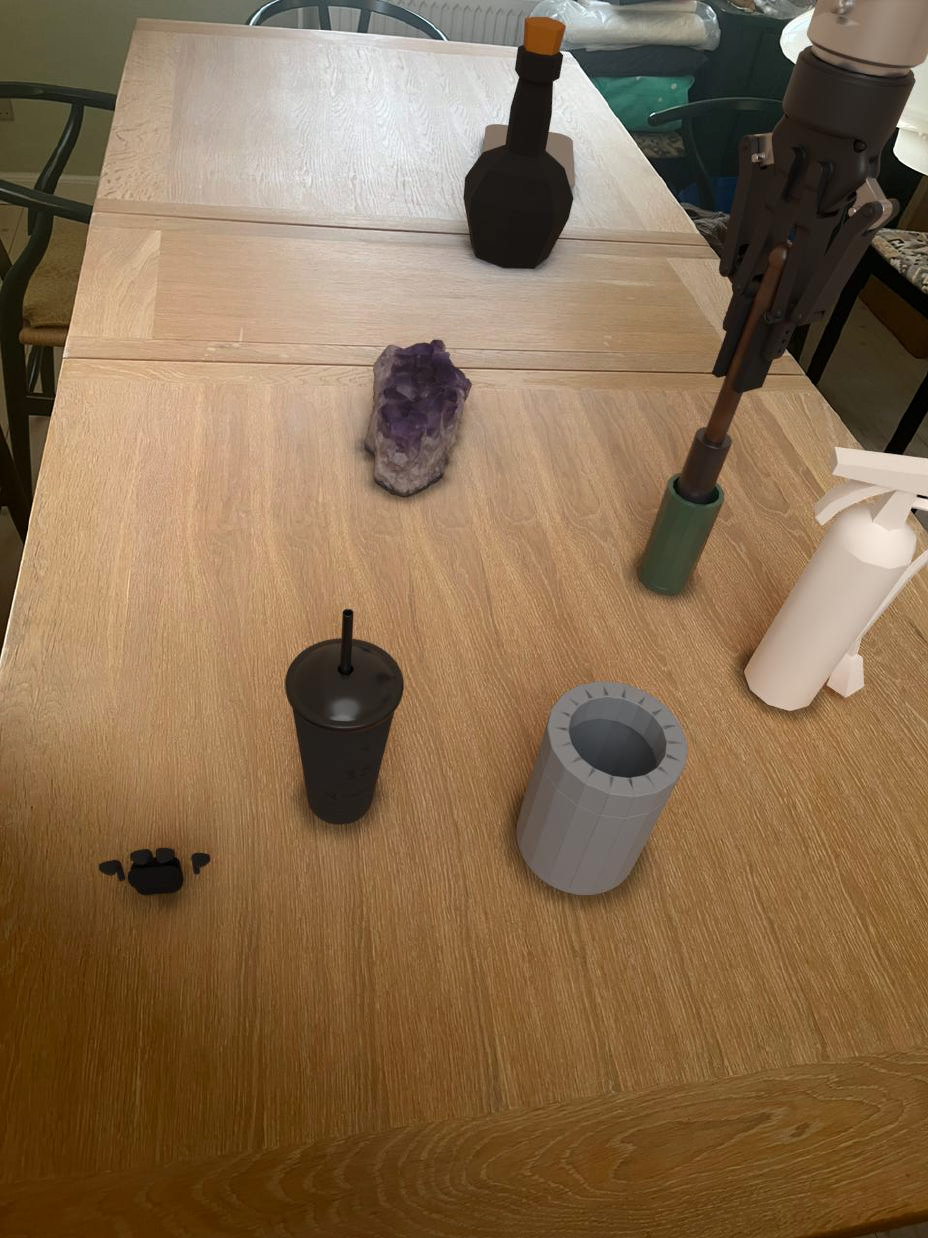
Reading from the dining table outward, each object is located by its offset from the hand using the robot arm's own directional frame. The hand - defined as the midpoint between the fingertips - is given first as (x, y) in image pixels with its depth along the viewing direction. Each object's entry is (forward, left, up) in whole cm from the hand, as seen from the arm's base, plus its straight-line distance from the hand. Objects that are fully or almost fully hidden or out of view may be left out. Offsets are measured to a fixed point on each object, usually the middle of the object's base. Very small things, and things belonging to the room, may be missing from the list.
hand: (736, 379), depth 75 cm
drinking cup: (+22, +34, -22) cm, 46 cm away
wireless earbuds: (+31, +45, -22) cm, 59 cm away
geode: (+29, -12, -23) cm, 39 cm away
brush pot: (0, 0, -22) cm, 22 cm away
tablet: (+33, -100, -22) cm, 108 cm away
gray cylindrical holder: (+4, +32, -22) cm, 39 cm away
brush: (0, 0, -15) cm, 15 cm away
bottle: (+29, -65, -22) cm, 75 cm away
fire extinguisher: (-13, +11, -22) cm, 28 cm away
